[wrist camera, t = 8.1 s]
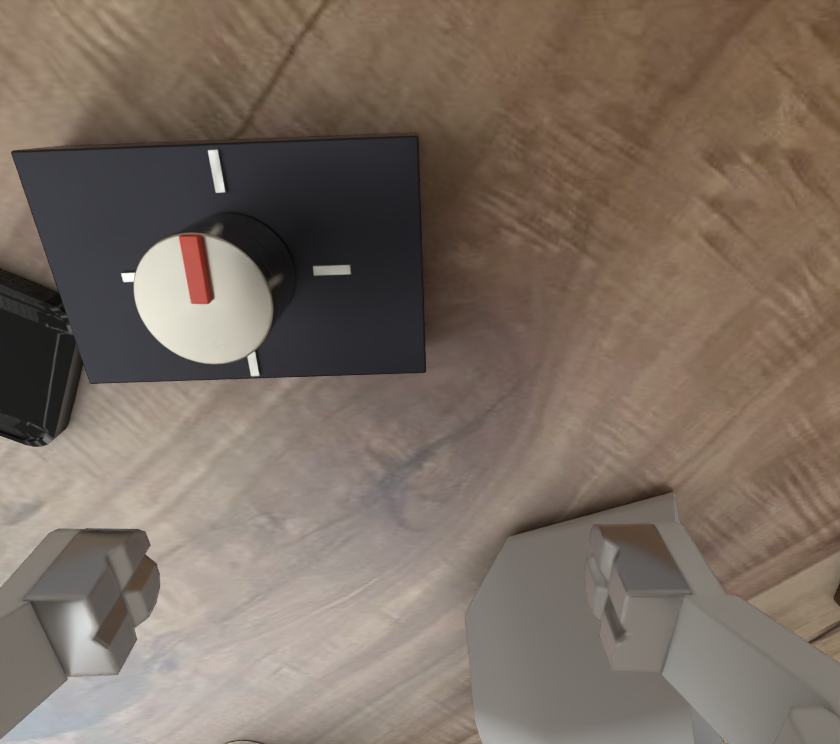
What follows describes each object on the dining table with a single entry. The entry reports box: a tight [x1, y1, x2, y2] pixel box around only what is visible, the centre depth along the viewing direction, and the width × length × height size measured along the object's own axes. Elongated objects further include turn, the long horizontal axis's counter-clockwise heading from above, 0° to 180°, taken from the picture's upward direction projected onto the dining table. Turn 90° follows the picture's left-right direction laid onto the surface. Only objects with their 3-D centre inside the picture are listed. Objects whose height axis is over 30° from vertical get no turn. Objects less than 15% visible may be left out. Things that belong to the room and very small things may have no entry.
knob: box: [133, 213, 295, 364], centre depth 18 cm, size 4×4×4 cm
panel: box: [11, 132, 426, 384], centre depth 21 cm, size 14×9×3 cm, turn 92°
